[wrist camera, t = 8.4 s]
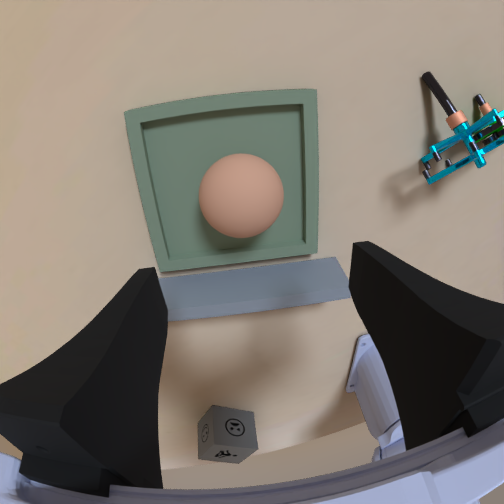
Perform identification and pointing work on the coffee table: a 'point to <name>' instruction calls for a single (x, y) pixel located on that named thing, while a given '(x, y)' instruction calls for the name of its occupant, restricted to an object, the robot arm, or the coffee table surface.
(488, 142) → the stick construction toy
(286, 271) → the low wall
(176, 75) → the coffee table surface
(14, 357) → the coffee table surface
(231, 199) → the rubber ball
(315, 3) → the coffee table surface
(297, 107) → the green tray
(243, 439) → the dice cube
